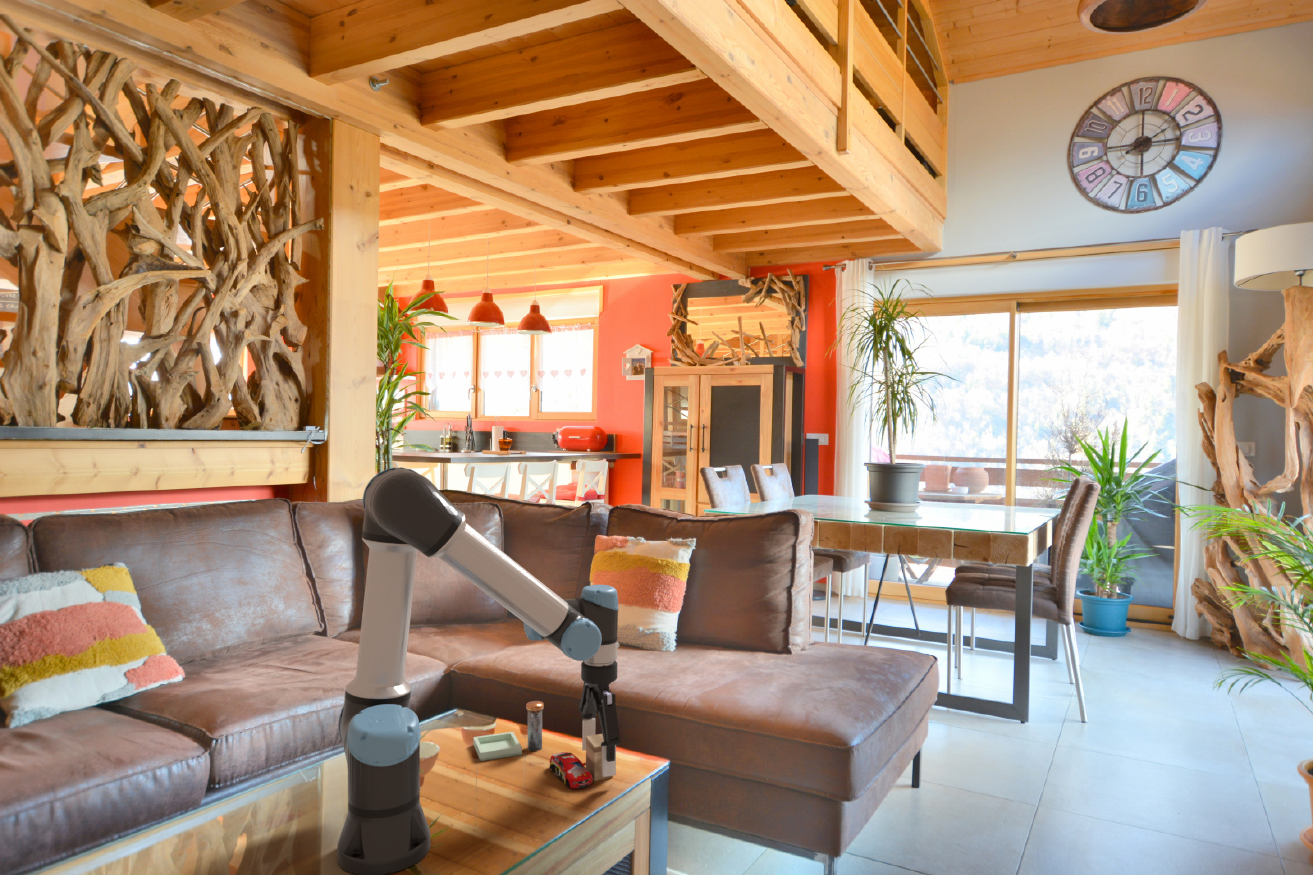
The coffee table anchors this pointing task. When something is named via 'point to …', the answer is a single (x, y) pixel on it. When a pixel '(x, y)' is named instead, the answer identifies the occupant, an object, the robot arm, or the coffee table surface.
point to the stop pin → (535, 725)
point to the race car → (570, 770)
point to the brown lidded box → (594, 756)
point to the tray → (497, 746)
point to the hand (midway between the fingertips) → (598, 762)
